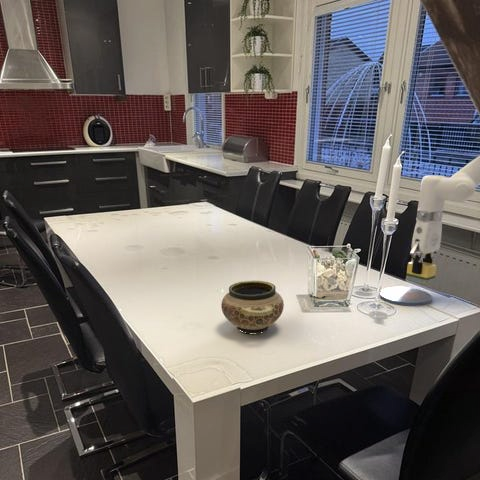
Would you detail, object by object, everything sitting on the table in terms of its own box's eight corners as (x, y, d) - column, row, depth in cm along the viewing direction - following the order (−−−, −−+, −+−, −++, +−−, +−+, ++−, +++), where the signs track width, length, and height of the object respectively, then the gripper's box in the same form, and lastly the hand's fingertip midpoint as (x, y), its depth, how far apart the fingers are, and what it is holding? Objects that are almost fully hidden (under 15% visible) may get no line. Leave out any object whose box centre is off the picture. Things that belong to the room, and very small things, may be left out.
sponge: (435, 277, 153) (437, 264, 151) (426, 280, 150) (428, 267, 149) (414, 272, 159) (416, 260, 157) (406, 275, 156) (407, 262, 154)
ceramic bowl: (226, 322, 149) (213, 280, 143) (279, 306, 149) (268, 263, 144) (235, 356, 127) (220, 307, 121) (297, 338, 127) (285, 288, 121)
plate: (441, 298, 160) (441, 295, 160) (413, 309, 150) (413, 306, 150) (398, 287, 172) (398, 284, 172) (369, 296, 163) (369, 293, 162)
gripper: (425, 221, 139) (416, 279, 146) (454, 214, 149) (445, 269, 156) (403, 217, 145) (396, 274, 152) (433, 212, 155) (425, 265, 161)
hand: (421, 271), depth 154 cm, fingers closed on sponge, 5 cm apart
